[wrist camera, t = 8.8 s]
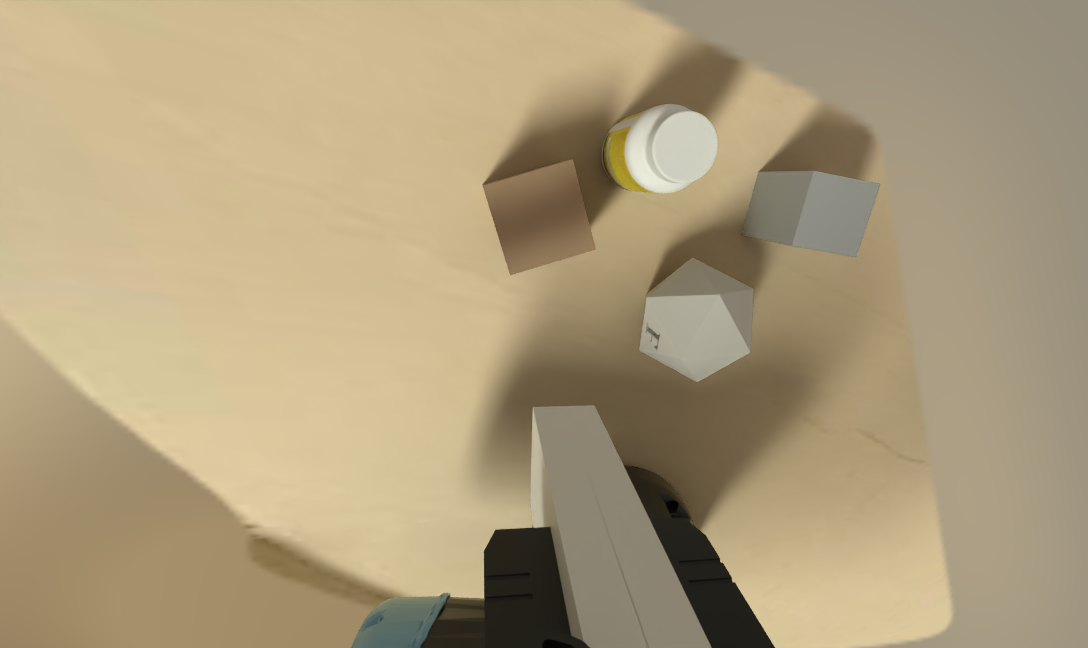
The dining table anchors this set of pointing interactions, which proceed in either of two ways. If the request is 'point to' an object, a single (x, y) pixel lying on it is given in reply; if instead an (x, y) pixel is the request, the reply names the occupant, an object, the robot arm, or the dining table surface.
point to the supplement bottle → (659, 149)
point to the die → (697, 320)
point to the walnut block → (540, 216)
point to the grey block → (810, 210)
